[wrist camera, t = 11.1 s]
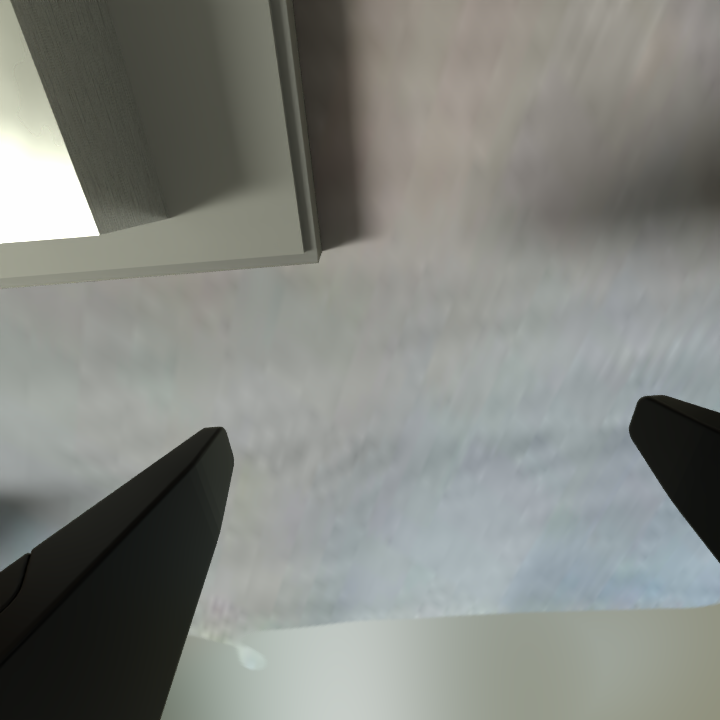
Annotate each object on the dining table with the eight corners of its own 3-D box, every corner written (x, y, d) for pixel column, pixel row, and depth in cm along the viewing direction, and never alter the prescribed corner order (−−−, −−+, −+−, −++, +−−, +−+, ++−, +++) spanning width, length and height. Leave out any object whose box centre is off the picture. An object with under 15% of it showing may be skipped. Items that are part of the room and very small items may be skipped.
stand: (268, -205, 11) (244, -323, 9) (321, 251, 18) (317, 265, 15) (-237, -162, 11) (-416, -265, 9) (-3, 277, 18) (-65, 296, 15)
